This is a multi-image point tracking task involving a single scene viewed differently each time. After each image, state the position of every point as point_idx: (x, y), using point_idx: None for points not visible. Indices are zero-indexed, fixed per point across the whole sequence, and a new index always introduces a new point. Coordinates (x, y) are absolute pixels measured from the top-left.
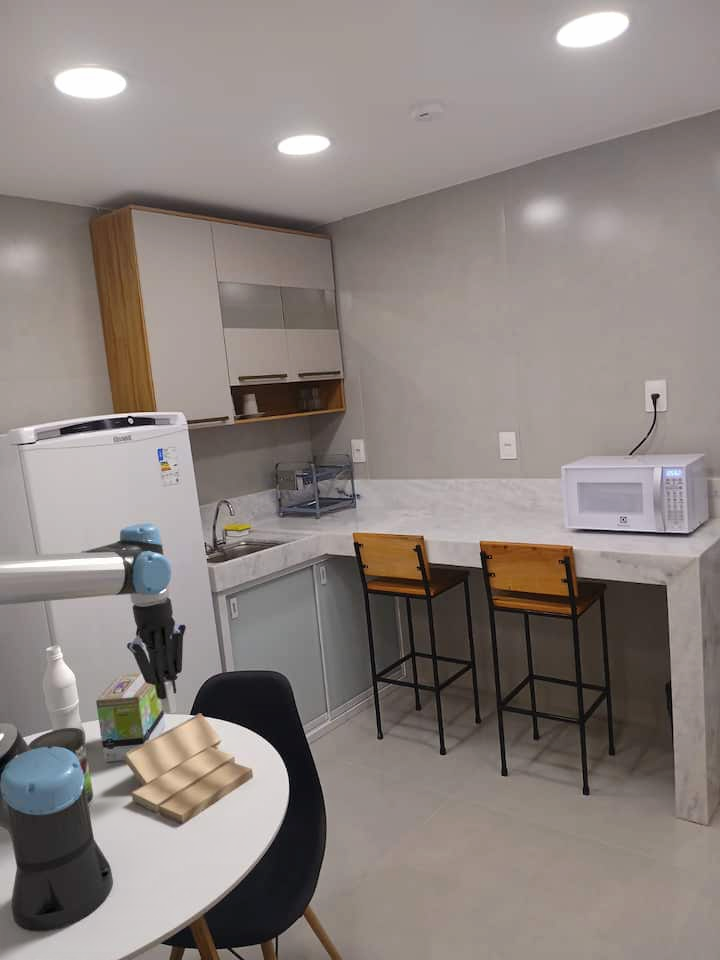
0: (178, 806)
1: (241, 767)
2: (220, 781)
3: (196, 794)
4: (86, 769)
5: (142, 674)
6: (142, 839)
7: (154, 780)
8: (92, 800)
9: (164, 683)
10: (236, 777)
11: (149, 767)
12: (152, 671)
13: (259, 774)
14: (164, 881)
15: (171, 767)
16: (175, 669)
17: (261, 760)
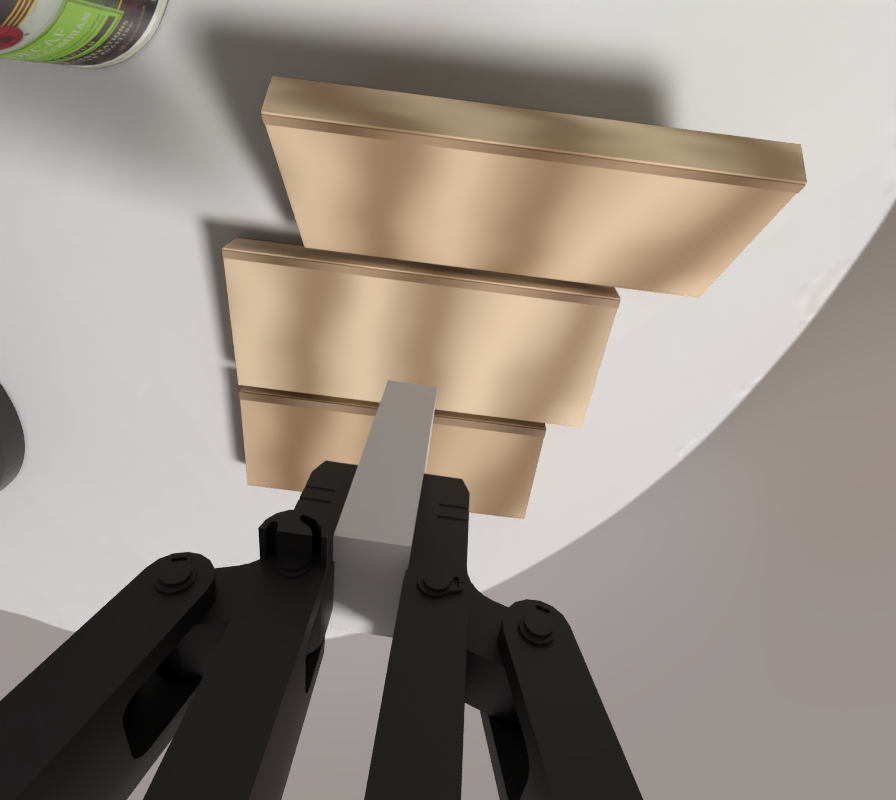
0: (270, 450)
1: (521, 488)
2: None
3: (342, 458)
4: (27, 28)
5: (54, 659)
6: (151, 415)
7: (323, 272)
8: (139, 44)
9: (331, 613)
10: None
11: (345, 217)
12: (118, 795)
13: (541, 508)
14: (108, 556)
15: (430, 259)
16: (485, 706)
17: (619, 471)
